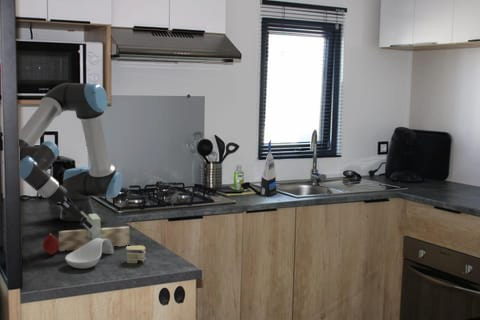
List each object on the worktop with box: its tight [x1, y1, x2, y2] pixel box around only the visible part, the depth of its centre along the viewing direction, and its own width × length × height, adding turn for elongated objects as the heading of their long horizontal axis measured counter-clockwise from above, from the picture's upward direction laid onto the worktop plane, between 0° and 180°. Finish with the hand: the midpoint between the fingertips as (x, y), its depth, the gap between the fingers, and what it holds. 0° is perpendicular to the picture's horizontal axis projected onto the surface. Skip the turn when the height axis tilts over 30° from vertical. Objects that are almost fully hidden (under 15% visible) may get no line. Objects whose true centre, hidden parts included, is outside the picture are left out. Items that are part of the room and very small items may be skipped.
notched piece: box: [88, 213, 102, 241], centre depth 239 cm, size 10×3×12 cm, turn 22°
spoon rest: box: [64, 238, 115, 270], centre depth 221 cm, size 24×12×7 cm, turn 164°
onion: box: [42, 232, 60, 256], centre depth 228 cm, size 6×6×8 cm
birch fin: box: [58, 225, 131, 252], centre depth 240 cm, size 26×2×7 cm, turn 112°
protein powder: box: [259, 139, 278, 198], centre depth 362 cm, size 10×24×30 cm, turn 174°
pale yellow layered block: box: [125, 244, 147, 264], centre depth 222 cm, size 10×9×6 cm
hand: (94, 228), depth 239 cm, fingers open, 13 cm apart
